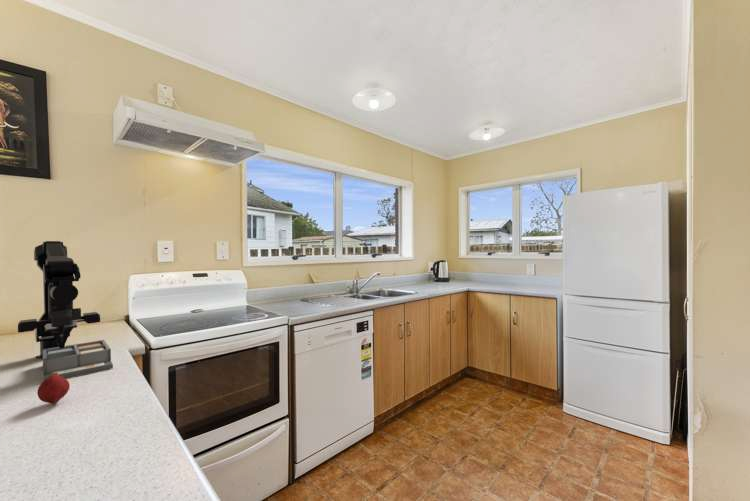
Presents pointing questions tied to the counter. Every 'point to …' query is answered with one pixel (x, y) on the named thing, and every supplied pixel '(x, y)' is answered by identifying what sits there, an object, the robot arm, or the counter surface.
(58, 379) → the onion
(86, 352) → the sand key
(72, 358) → the grey compartment tray
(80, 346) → the terracotta key
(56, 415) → the counter surface
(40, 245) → the robot arm
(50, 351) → the slate key
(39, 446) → the counter surface
